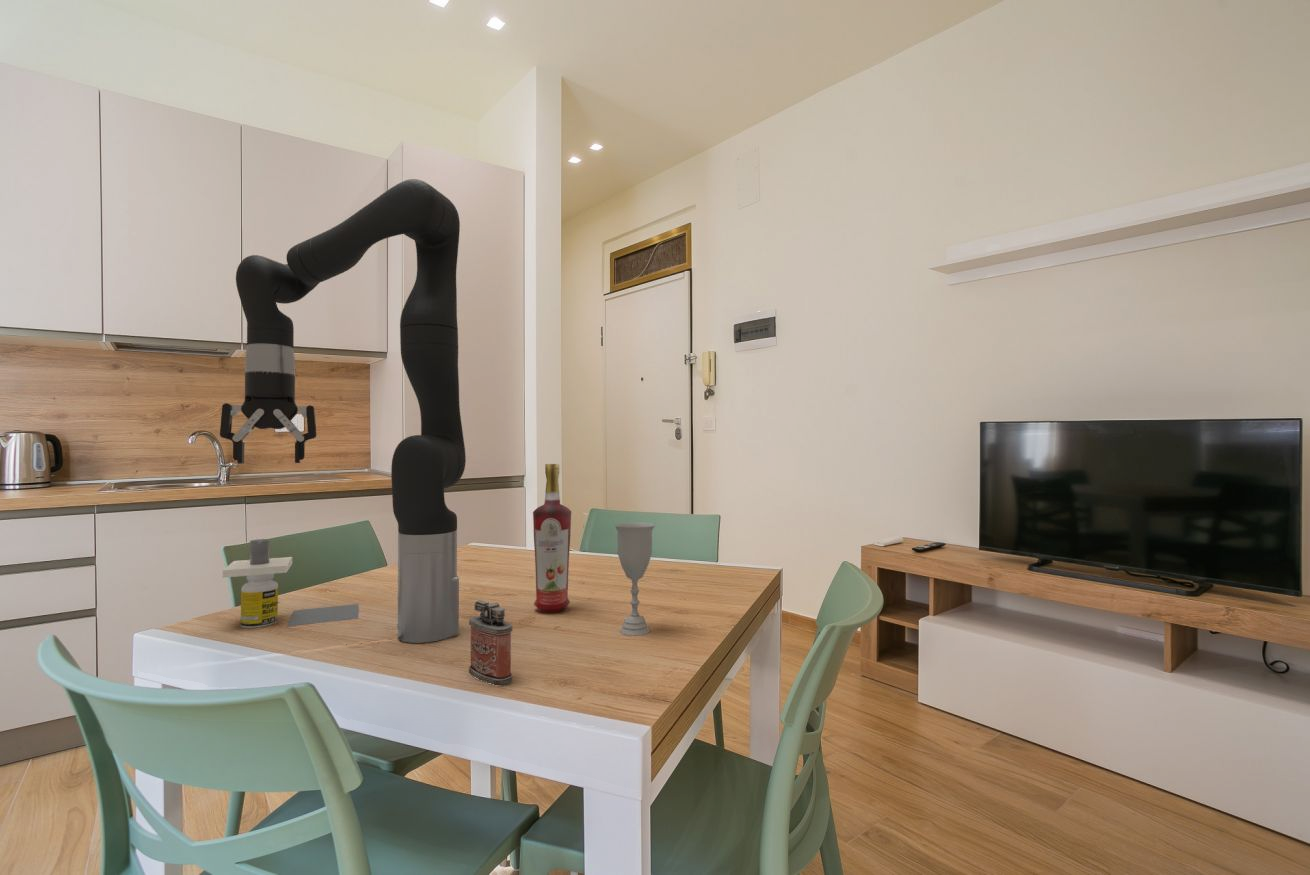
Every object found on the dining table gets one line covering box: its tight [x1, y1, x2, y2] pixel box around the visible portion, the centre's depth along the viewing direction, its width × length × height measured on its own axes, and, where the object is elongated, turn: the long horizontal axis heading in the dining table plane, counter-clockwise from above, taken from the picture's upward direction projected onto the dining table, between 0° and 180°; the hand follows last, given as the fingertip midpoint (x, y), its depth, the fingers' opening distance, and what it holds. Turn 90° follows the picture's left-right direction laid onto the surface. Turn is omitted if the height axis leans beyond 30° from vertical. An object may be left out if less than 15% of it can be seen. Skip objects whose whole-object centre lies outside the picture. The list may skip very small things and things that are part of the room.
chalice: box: [614, 521, 656, 636], centre depth 102 cm, size 7×7×18 cm
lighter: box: [468, 599, 513, 686], centre depth 82 cm, size 8×3×10 cm, turn 48°
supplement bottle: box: [240, 574, 279, 629], centre depth 105 cm, size 5×5×10 cm
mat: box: [286, 603, 360, 628], centre depth 110 cm, size 11×11×1 cm
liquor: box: [532, 463, 572, 614], centre depth 115 cm, size 7×7×28 cm
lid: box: [222, 538, 293, 579], centre depth 105 cm, size 9×9×5 cm
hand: (269, 463), depth 106 cm, fingers open, 8 cm apart
